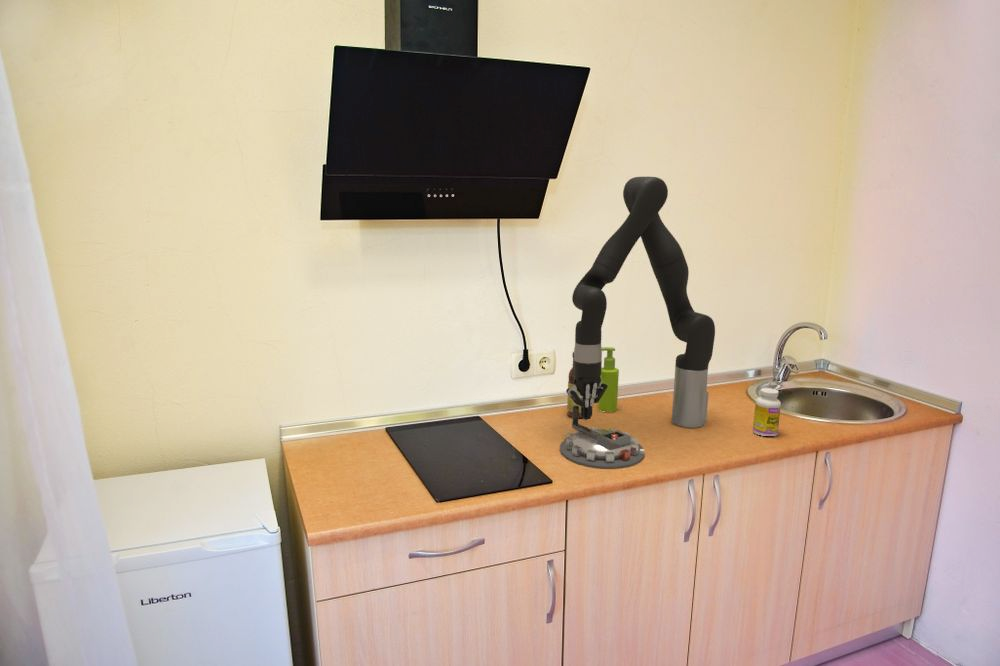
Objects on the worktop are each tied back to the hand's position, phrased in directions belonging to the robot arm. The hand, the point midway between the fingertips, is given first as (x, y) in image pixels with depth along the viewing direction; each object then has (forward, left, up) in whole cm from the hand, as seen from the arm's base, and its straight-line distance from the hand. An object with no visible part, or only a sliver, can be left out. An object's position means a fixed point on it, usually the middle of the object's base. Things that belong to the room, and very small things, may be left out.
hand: (586, 418), depth 180 cm
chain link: (+2, +15, -2) cm, 15 cm away
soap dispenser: (-19, -15, -5) cm, 25 cm away
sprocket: (+3, +10, -4) cm, 11 cm away
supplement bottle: (-46, +23, -5) cm, 52 cm away
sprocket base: (+3, +11, -5) cm, 12 cm away
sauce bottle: (-8, -15, -5) cm, 18 cm away
